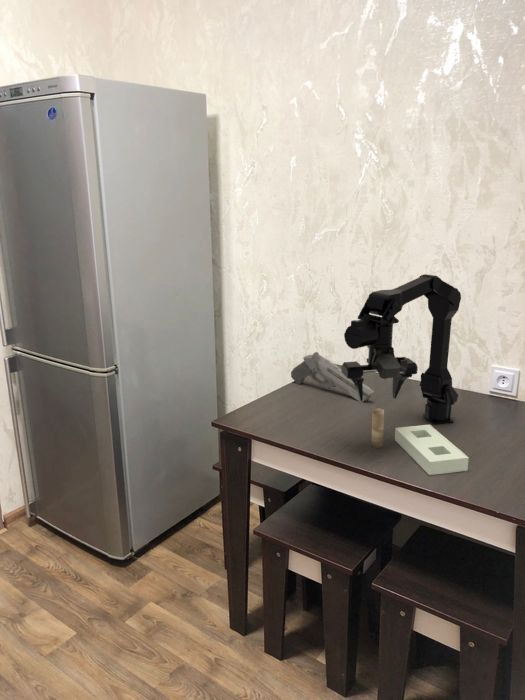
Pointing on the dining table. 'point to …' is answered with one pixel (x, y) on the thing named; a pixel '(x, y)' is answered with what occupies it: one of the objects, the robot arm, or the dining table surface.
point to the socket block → (431, 449)
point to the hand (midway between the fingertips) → (377, 399)
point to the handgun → (327, 375)
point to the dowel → (377, 428)
